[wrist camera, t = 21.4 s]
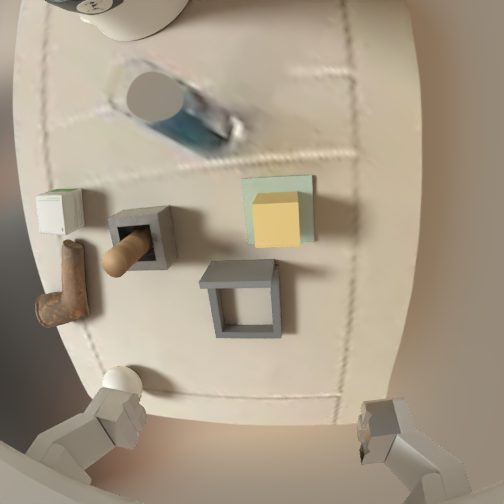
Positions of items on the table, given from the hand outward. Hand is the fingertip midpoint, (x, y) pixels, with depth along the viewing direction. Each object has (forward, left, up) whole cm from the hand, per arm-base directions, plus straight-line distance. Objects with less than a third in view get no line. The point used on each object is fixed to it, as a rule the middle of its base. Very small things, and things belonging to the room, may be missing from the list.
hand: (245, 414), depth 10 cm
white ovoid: (+29, -28, -29) cm, 50 cm away
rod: (+2, -17, -29) cm, 34 cm away
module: (0, 0, -29) cm, 29 cm away
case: (+12, -5, -29) cm, 32 cm away
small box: (-3, -30, -29) cm, 42 cm away
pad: (0, 0, -29) cm, 29 cm away
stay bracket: (+2, -17, -29) cm, 34 cm away
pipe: (+9, -35, -30) cm, 46 cm away
